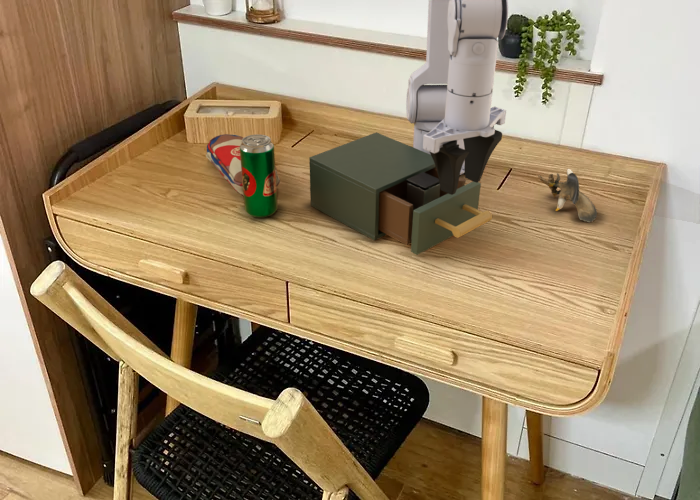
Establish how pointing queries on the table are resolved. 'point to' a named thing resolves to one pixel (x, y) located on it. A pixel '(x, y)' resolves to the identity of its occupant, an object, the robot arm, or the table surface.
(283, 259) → the table surface
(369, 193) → the cabinet
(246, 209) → the soda can
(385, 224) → the drawer
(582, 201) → the eagle figurine
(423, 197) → the metal-capped square post
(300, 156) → the table surface
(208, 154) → the pencil case
